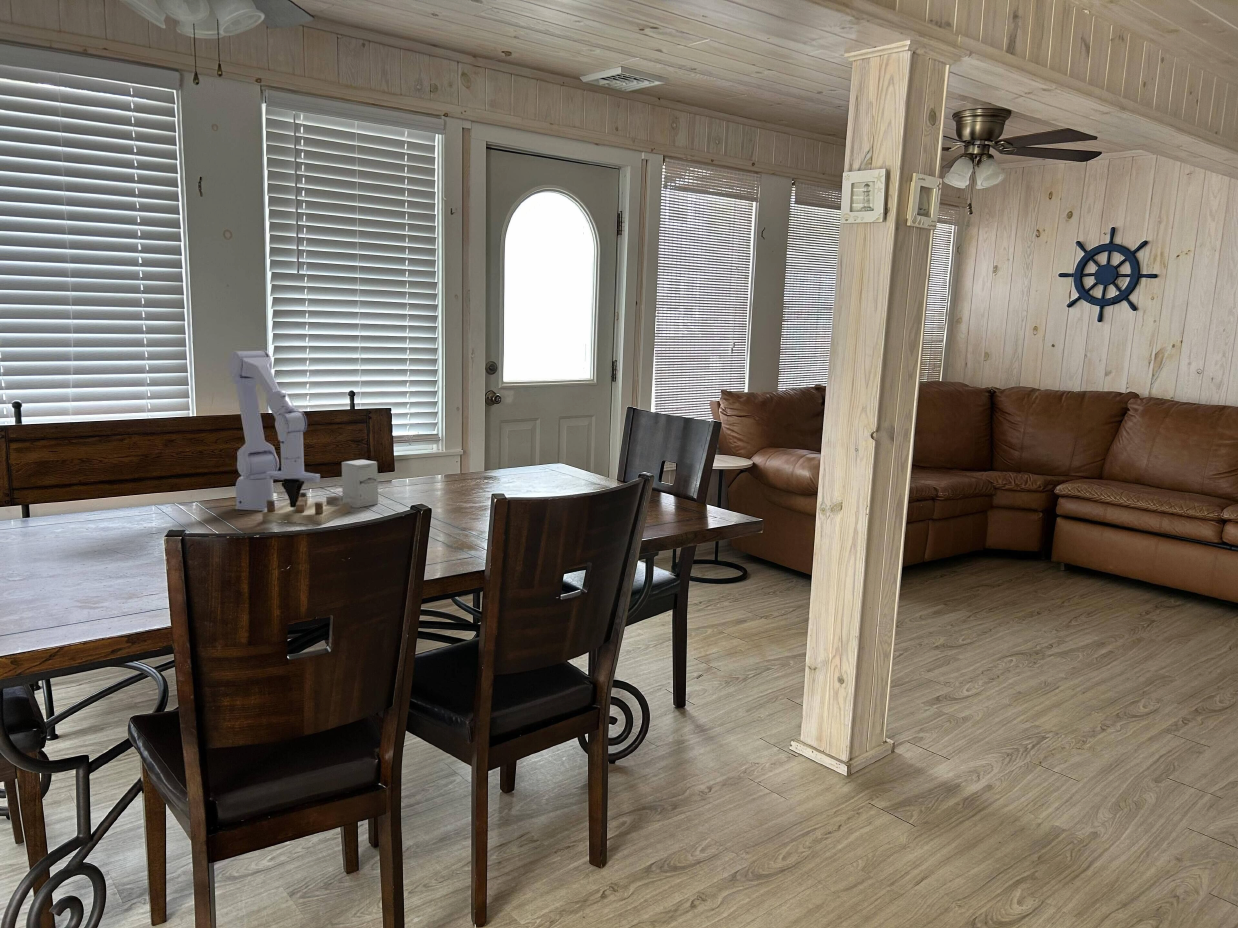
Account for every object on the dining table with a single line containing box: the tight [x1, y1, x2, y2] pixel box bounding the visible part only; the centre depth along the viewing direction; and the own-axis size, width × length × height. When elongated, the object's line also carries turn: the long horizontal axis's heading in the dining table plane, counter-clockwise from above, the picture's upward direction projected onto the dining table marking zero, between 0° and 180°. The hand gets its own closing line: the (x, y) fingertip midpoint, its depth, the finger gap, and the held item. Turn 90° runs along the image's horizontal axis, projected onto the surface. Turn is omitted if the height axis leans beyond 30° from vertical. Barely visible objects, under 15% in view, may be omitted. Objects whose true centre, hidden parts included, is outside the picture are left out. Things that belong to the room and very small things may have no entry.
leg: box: [296, 491, 308, 512], centre depth 246 cm, size 11×2×3 cm, turn 14°
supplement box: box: [341, 459, 379, 509], centre depth 262 cm, size 7×7×13 cm
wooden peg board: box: [261, 492, 351, 526], centre depth 248 cm, size 17×16×6 cm
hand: (294, 506), depth 244 cm, fingers closed, pressing on leg
